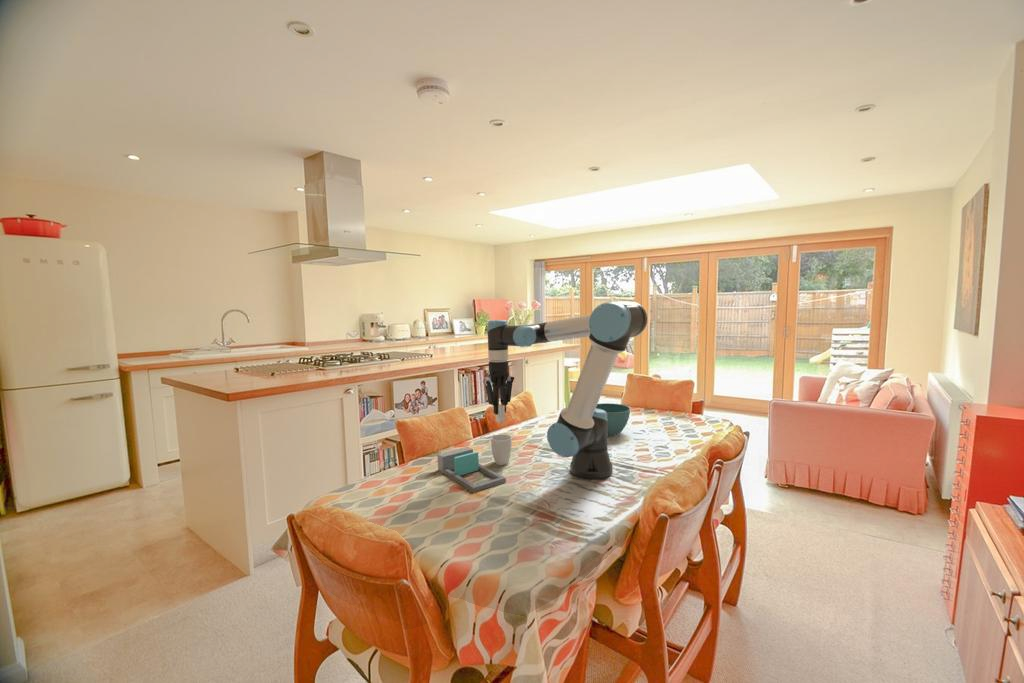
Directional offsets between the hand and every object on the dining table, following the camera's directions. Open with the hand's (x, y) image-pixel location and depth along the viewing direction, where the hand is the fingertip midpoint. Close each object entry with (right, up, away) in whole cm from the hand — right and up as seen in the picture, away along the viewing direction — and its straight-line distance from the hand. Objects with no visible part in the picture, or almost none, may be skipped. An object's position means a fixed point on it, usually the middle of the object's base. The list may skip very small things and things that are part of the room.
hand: (500, 421), depth 167 cm
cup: (+1, -16, +2) cm, 17 cm away
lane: (-10, -18, -10) cm, 23 cm away
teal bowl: (+50, -12, +36) cm, 63 cm away
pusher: (-13, -17, -7) cm, 22 cm away
